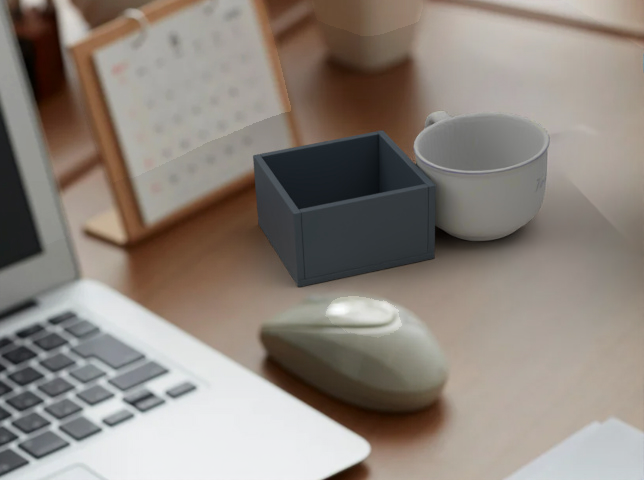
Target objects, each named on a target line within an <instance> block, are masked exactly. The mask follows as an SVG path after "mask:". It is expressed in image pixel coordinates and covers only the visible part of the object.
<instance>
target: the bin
mask: <svg viewBox="0 0 644 480" xmlns="http://www.w3.org/2000/svg"><path fill="white" fill-rule="evenodd" d="M252 160H253V174H254V175H253V176H254V186H255V199H256V210H257V222H258V226H259V227H260V229H261V230H262V232H263V234H264V236H266V238H267V240H268V241H269V243H270V245H271V246H272V248H273V250H275V252H276V255H277V256H278V257H279V259H280V261H281V262H282V264H283V265H284V267H285V268H286V270H287V272H288V273H289V275H290V276H291V278H292V279H293V281H294V283H295V285H296V286H297V288H301V287H305V286H310V285H315V284H319V283H324V282H328V281H334V280H340V279H343V278H347V277H348V278H349V277H353V276H358V275H362V274H367V273H372V272H376V271H381V270H387V269H390V268H395V267H400V266H405V265H409V264H413V263H418V262H424V261H427V260H433V259H435V250H436V246H435V245H436V226H435V194H436V185H435V184H434V183H433V182H432V181H431V180H430V179H429V178H428V177H427V176H426V175H425V174H424V173H423V172H422V171H421V170H420V169H419V167H418V166H417V165H416V162H414V161H413V160H412V159H411V158H410V157H409V156H408V155H407V154H406V153H405V151H403V150H402V149H401V148H400V146H399V145H398V144H397V143H396V141H393V139H392V138H391V137H390V136H389V135H388V133H386V132H385V130H382V129H381V130H377V131H372V132H366V133H362V134H357V135H356V134H355V135H351V136H350V135H349V136H346V137H340V138H335V139H329V140H325V141H320V142H315V143H309V144H305V145H298V146H293V147H288V148H283V149H278V150H273V151H267V152H262V153H257V154H253V155H252Z"/></svg>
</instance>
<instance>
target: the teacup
mask: <svg viewBox="0 0 644 480" xmlns="http://www.w3.org/2000/svg"><path fill="white" fill-rule="evenodd" d="M550 138H551V137H550V135H549V133H548V130H547V129H546V128H545V126H543V125H542V124H540V123H539V122H537V121H535V120H534V119H531V118H529V117H526V116H523V115H521V114H515V113H509V112H501V111H480V112H470V113H464V114H458V115H454V116H451V114H450V113H449V112H448V111H446V110H437V111H433V112H431V113H430V114H429V115H427V117H426V119H425V122H424V129H422V130H421V131H420V132H419V134H418V135H417V136H416V138H415V139H414V142H413V153H414V155H415V164H416V165H417V166H418V167H419V169H420V170H421V171H422V172H423V173H424V174H425V175H426V176H427V177H428V178H429V179H430V180H431V181H432V182H433V183H434V184H435V185H436V194H435V227H437V229H440V230H442V231H444V232H445V233H446V234H448V235H450V236H452V237H454V238H457V239H460V240H464V241H471V242H485V241H486V242H487V241H493V240H498V239H501V238H504V237H507V236H510V235H511V234H513V233H515V232H516V231H517V230H519V229H520V228H522V227H524V226H526V224H528V223H530V221H532V220H533V219H534V217H535V216H537V214H538V213H539V211H540V209H541V207H542V204H543V202H544V199H545V193H546V186H547V177H548V175H547V174H548V150H549V147H550V143H551V140H550Z"/></svg>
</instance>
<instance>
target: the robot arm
mask: <svg viewBox="0 0 644 480" xmlns="http://www.w3.org/2000/svg"><path fill="white" fill-rule="evenodd" d="M642 68H643V72H644V54H643V56H642Z"/></svg>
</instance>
